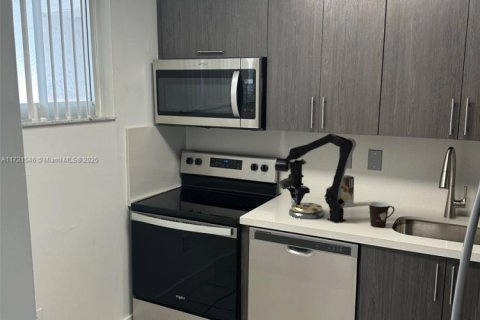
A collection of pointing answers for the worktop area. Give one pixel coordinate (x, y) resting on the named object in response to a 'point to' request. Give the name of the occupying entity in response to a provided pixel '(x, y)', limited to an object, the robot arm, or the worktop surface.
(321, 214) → the housing
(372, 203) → the coffee mug
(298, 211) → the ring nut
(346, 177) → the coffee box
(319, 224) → the worktop surface
